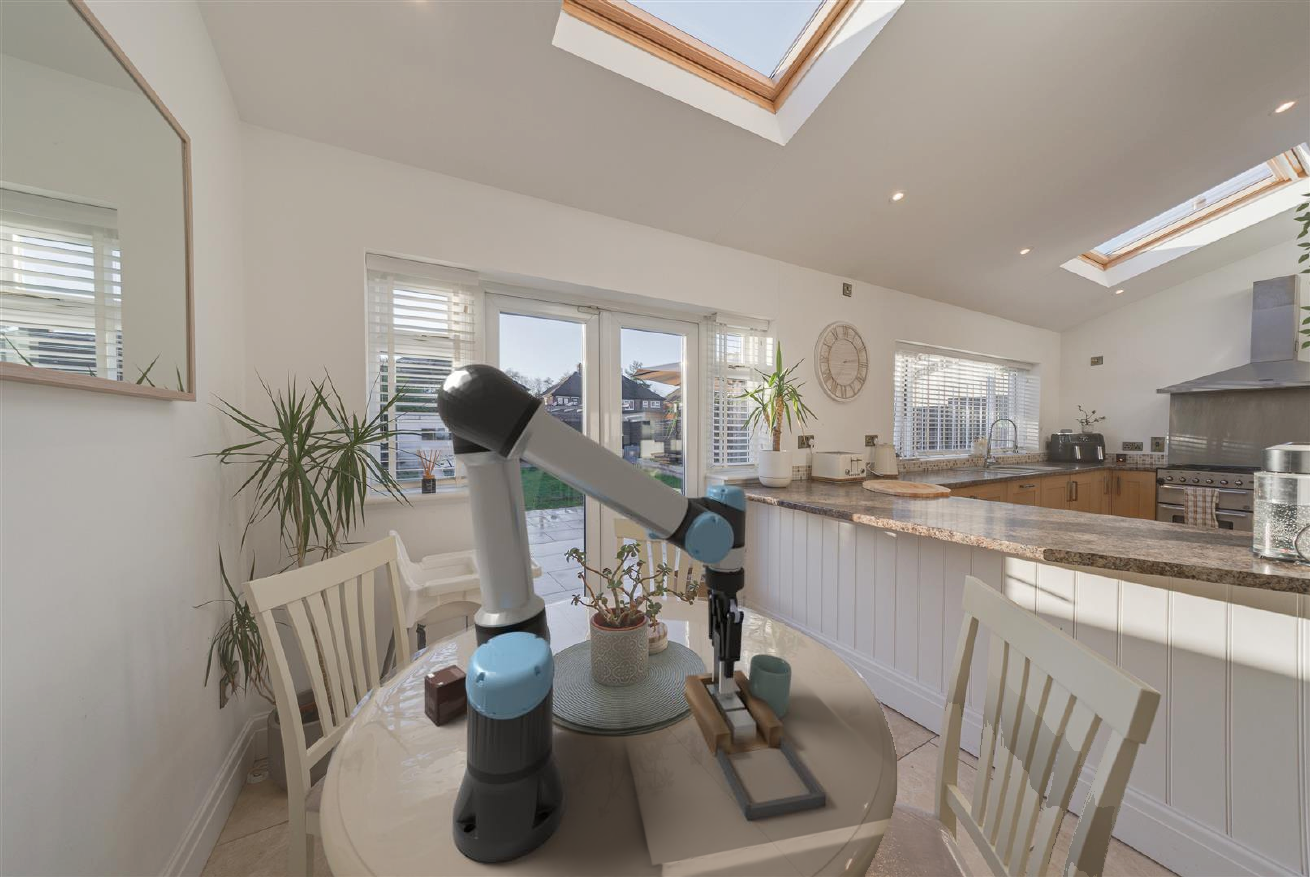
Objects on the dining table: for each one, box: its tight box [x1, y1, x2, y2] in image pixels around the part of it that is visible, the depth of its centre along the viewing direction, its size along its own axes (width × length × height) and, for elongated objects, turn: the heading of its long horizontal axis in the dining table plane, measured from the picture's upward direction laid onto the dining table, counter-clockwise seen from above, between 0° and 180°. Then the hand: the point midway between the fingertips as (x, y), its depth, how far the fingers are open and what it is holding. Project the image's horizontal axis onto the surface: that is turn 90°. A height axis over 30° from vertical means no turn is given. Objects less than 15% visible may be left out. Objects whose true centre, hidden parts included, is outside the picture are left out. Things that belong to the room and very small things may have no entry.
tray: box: [716, 738, 827, 822], centre depth 68 cm, size 12×12×3 cm
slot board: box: [683, 669, 784, 757], centre depth 83 cm, size 13×18×5 cm
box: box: [423, 664, 467, 726], centre depth 86 cm, size 6×6×7 cm
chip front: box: [726, 710, 756, 744], centre depth 79 cm, size 4×4×3 cm
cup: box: [748, 654, 792, 719], centre depth 87 cm, size 8×8×10 cm
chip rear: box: [716, 694, 745, 724], centre depth 83 cm, size 4×4×3 cm
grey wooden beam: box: [706, 628, 741, 706], centre depth 87 cm, size 6×3×14 cm, turn 103°
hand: (722, 686), depth 87 cm, fingers closed on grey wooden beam, 3 cm apart
